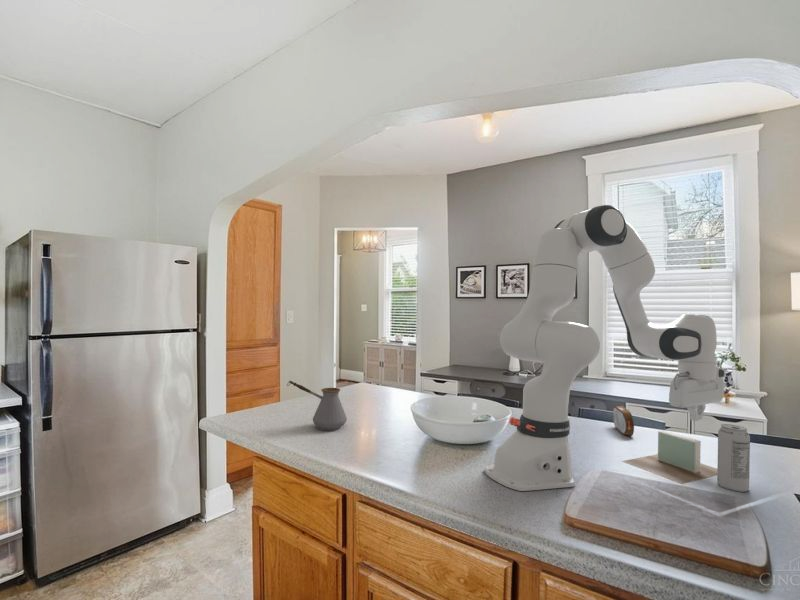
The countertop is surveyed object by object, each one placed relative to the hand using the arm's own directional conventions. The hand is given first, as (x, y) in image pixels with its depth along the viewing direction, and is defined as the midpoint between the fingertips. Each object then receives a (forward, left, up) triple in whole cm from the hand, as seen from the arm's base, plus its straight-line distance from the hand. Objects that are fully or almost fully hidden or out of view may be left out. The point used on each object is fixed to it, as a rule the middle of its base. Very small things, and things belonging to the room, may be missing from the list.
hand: (696, 420), depth 118 cm
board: (-10, 0, -12) cm, 16 cm away
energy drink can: (-11, -14, -12) cm, 21 cm away
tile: (-8, 0, -12) cm, 14 cm away
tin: (+9, +29, -12) cm, 32 cm away
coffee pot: (-90, +71, -12) cm, 116 cm away
